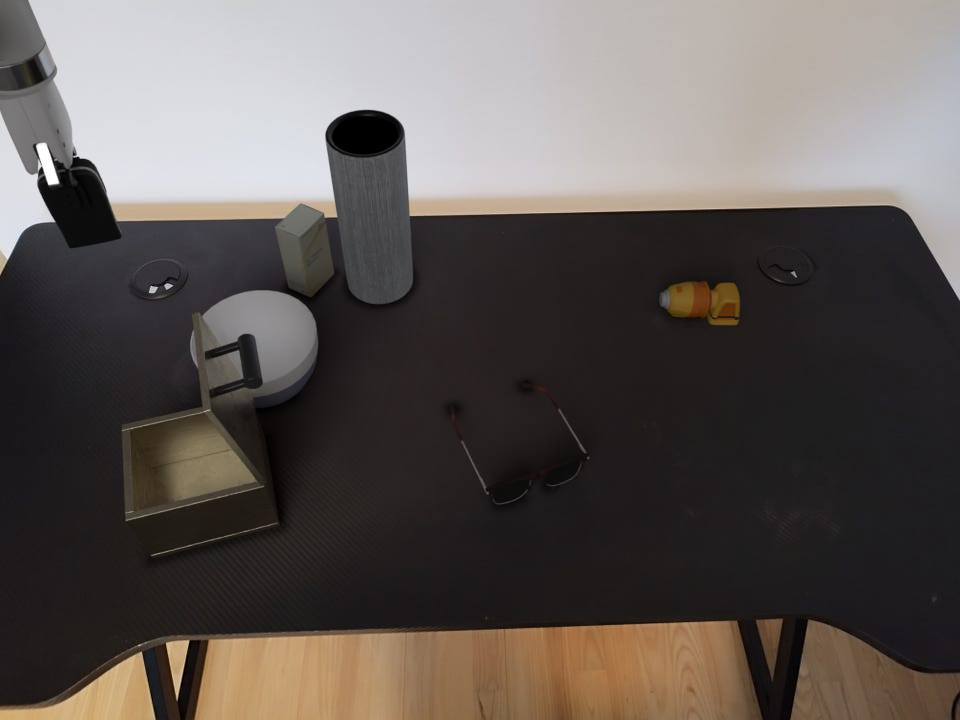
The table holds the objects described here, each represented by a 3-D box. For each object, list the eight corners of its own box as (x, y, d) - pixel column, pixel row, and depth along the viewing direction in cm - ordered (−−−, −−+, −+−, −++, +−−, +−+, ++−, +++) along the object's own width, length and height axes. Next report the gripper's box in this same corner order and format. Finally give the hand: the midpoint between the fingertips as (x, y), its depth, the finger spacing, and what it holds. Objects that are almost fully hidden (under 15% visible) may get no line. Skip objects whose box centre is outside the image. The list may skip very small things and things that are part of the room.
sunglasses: (486, 512, 98) (486, 490, 94) (440, 415, 107) (439, 392, 104) (586, 476, 101) (590, 454, 97) (533, 386, 111) (535, 362, 107)
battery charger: (122, 221, 106) (92, 150, 97) (124, 240, 104) (94, 169, 95) (67, 232, 104) (31, 160, 95) (67, 251, 102) (31, 180, 93)
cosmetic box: (311, 298, 118) (298, 239, 109) (287, 287, 120) (272, 227, 110) (335, 272, 122) (325, 212, 112) (312, 262, 123) (300, 201, 114)
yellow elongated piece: (659, 325, 117) (740, 326, 117) (666, 300, 113) (750, 301, 113) (654, 298, 120) (733, 299, 121) (661, 273, 116) (743, 273, 116)
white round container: (265, 449, 102) (250, 407, 95) (183, 387, 108) (163, 343, 100) (350, 372, 110) (342, 327, 103) (269, 318, 116) (256, 272, 108)
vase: (336, 295, 119) (311, 146, 98) (363, 251, 125) (344, 101, 104) (398, 312, 117) (386, 164, 96) (422, 266, 123) (416, 117, 102)
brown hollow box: (152, 559, 93) (125, 520, 85) (147, 467, 100) (121, 424, 92) (280, 526, 96) (264, 486, 88) (265, 439, 103) (250, 395, 95)
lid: (202, 412, 75) (258, 394, 75) (191, 313, 82) (241, 298, 83) (260, 485, 88) (307, 469, 88) (246, 394, 95) (289, 380, 95)
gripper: (-20, 28, 89) (46, 162, 103) (-29, 113, 79) (44, 248, 93) (52, 19, 90) (106, 152, 105) (51, 102, 80) (111, 236, 95)
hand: (76, 196), depth 99 cm, fingers closed on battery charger, 4 cm apart
